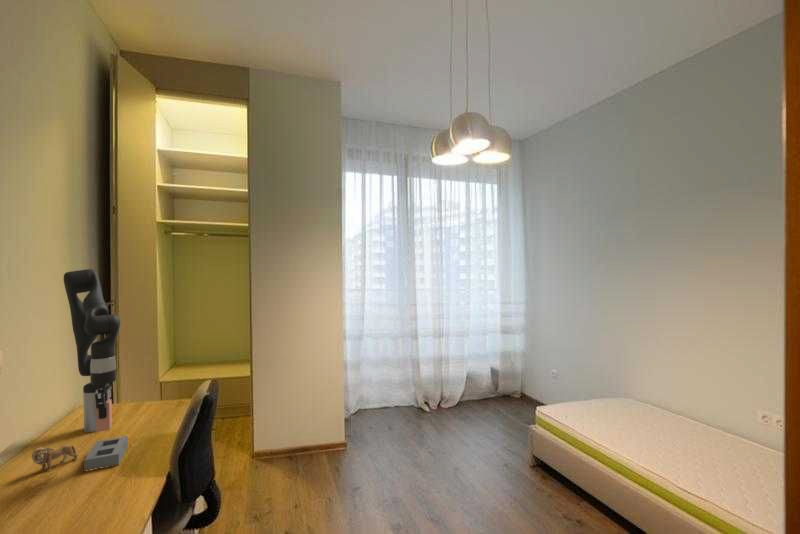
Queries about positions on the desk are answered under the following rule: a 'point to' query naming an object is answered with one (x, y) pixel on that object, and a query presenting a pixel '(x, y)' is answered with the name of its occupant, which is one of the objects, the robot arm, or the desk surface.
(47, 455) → the lion figurine
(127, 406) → the desk surface
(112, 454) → the pocket board
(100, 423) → the peg
